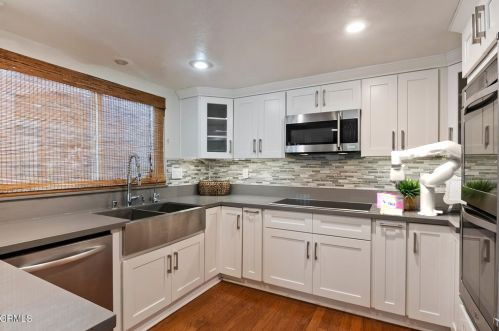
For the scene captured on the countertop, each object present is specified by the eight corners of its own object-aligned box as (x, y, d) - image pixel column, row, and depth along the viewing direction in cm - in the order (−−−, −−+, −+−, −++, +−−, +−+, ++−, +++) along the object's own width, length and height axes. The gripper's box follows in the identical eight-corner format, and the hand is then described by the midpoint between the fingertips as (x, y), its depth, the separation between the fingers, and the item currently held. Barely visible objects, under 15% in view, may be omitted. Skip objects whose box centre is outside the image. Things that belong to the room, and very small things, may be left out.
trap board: (402, 212, 216) (402, 208, 216) (401, 215, 206) (401, 211, 206) (381, 210, 224) (381, 207, 224) (380, 213, 214) (380, 209, 214)
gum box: (375, 207, 242) (375, 192, 242) (383, 206, 244) (383, 192, 244) (396, 212, 219) (396, 195, 219) (404, 211, 221) (404, 195, 221)
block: (387, 209, 215) (387, 204, 215) (387, 209, 212) (387, 204, 212) (382, 208, 217) (382, 203, 217) (382, 209, 214) (382, 204, 214)
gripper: (407, 166, 212) (408, 189, 212) (386, 166, 219) (387, 188, 219) (407, 166, 205) (408, 190, 205) (386, 166, 213) (387, 189, 213)
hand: (397, 189), depth 212 cm, fingers closed
